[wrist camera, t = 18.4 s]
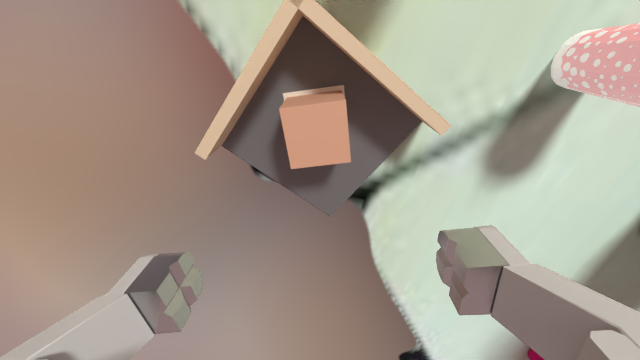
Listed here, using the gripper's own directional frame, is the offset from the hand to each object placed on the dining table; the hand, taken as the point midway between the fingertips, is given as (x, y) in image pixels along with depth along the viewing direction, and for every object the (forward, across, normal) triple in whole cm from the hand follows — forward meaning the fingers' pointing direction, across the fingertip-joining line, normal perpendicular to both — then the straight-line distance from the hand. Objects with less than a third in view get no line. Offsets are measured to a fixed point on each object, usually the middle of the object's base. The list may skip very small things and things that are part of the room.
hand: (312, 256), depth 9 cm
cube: (+18, 0, 0) cm, 18 cm away
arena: (+19, 0, +1) cm, 19 cm away
